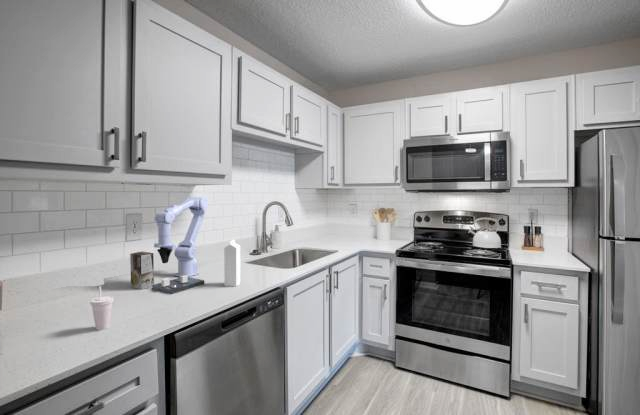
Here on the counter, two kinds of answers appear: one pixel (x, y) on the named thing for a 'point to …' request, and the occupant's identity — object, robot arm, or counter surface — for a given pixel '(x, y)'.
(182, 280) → the block
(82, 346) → the counter surface
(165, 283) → the block
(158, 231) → the robot arm
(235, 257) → the milk
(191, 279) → the console
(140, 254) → the coffee box
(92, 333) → the counter surface
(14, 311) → the counter surface
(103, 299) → the smoothie
